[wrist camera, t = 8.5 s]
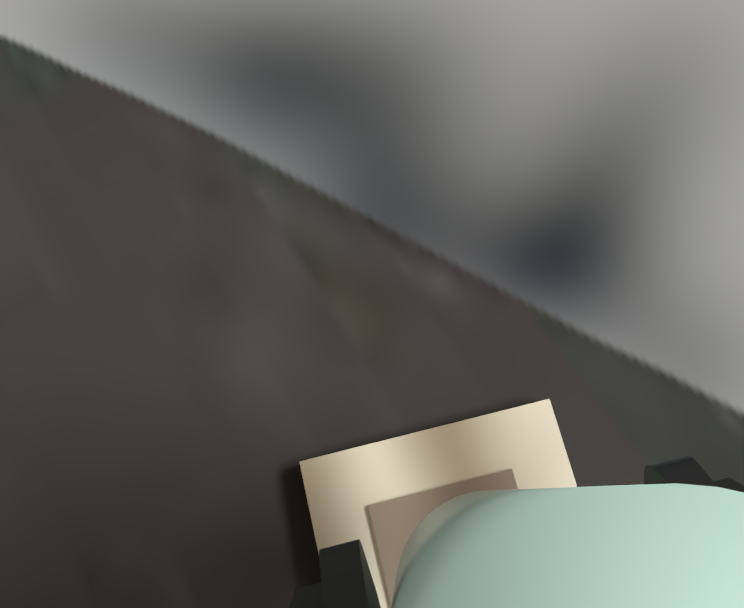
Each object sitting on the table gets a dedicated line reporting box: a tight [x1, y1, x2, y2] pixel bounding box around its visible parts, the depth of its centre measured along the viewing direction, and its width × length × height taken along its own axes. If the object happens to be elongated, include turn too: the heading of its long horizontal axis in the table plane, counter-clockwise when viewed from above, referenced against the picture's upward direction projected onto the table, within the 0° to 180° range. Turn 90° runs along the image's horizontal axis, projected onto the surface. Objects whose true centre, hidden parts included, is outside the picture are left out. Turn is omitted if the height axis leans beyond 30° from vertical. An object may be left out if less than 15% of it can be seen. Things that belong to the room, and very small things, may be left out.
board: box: [299, 399, 577, 608], centre depth 26 cm, size 10×10×1 cm
